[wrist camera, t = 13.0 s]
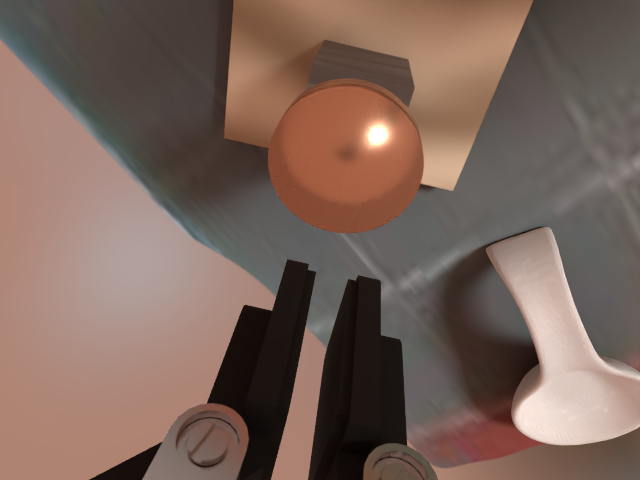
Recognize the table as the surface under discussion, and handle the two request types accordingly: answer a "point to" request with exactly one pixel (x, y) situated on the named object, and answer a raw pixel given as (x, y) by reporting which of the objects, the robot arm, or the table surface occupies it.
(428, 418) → the table surface
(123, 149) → the table surface
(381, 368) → the robot arm
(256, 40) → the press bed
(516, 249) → the spoon rest
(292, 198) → the disc
